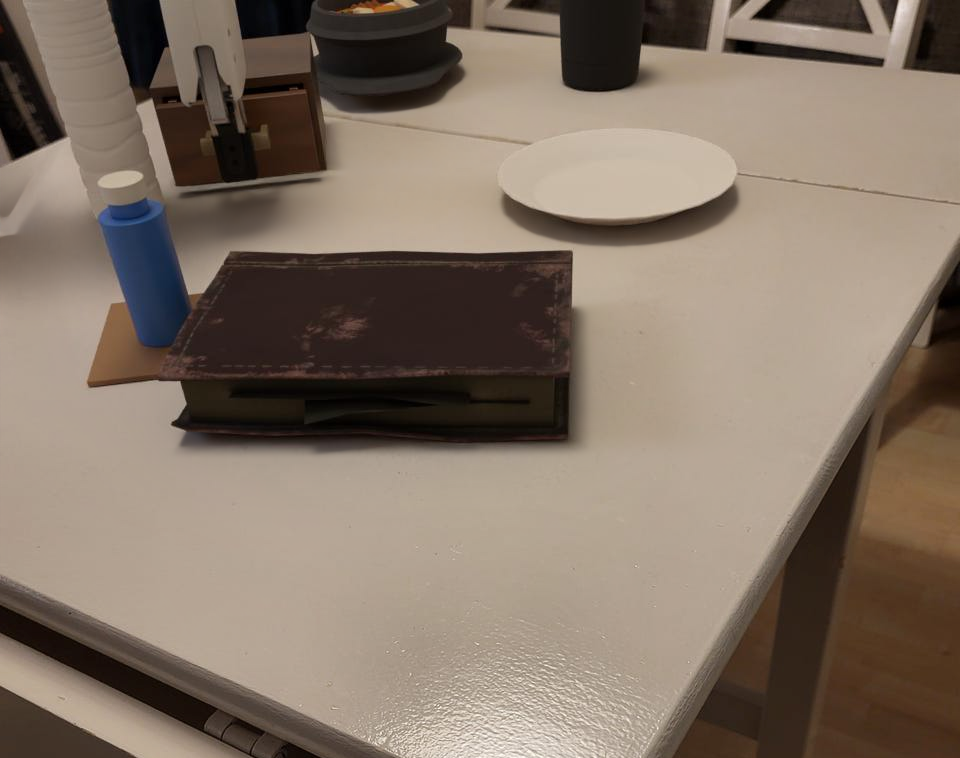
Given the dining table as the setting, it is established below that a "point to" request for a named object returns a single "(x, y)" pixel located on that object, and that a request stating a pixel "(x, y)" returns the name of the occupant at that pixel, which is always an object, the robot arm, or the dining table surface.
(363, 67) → the casserole
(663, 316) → the dining table surface
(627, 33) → the pen holder
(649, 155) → the plate
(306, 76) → the cabinet
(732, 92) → the dining table surface
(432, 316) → the diary
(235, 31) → the robot arm
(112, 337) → the mat
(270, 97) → the drawer
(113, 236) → the bottle
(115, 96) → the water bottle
